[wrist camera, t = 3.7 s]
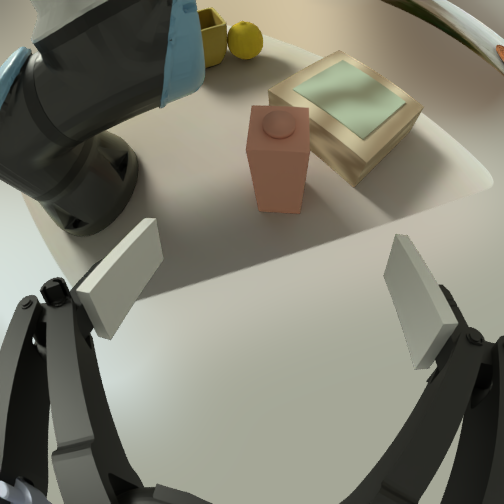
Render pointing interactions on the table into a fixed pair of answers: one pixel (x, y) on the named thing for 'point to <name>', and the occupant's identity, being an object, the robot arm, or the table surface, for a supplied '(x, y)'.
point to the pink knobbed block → (278, 156)
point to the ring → (500, 51)
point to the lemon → (245, 40)
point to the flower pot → (213, 36)
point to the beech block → (348, 113)
